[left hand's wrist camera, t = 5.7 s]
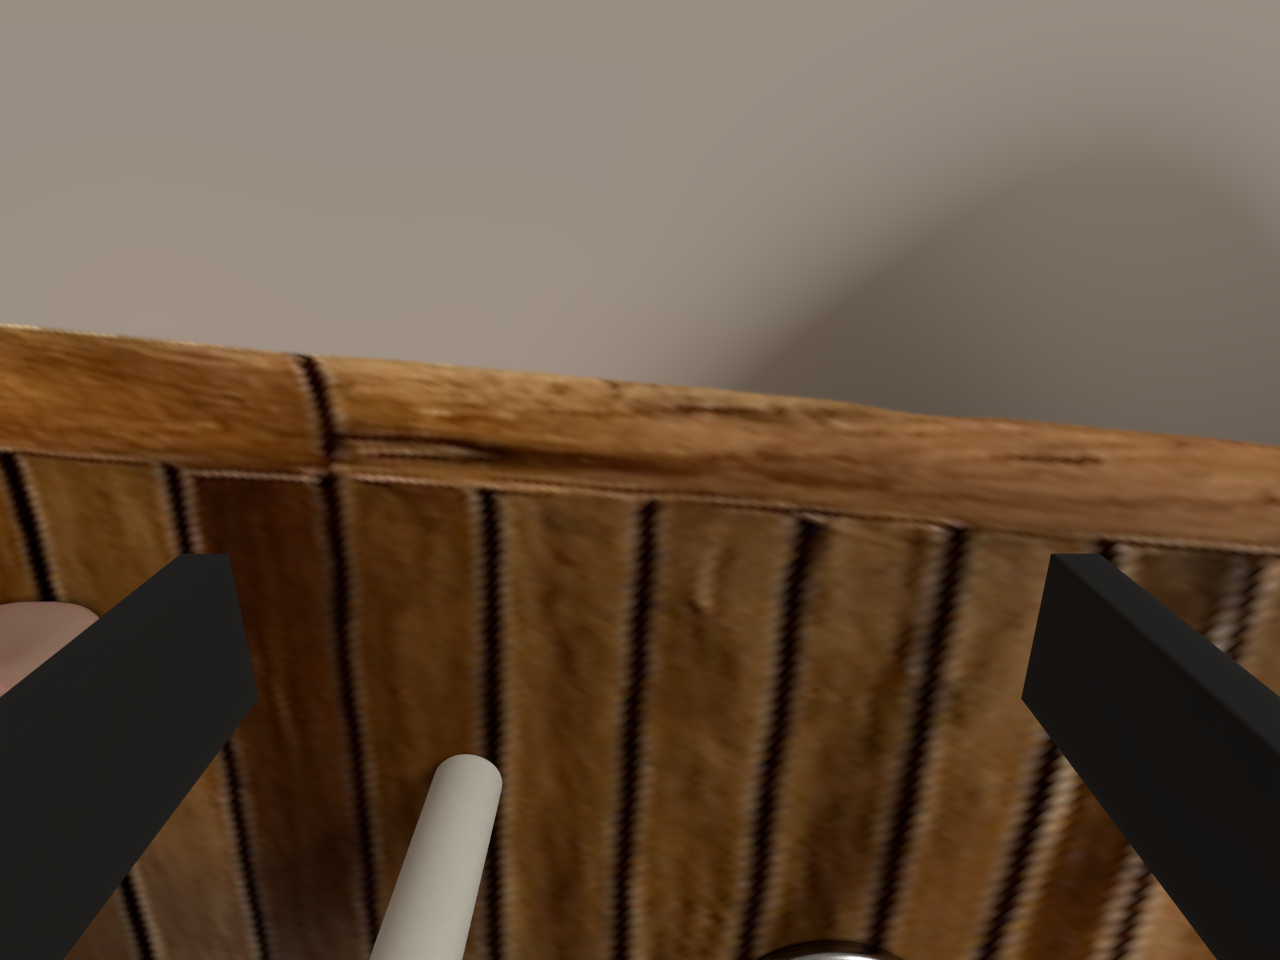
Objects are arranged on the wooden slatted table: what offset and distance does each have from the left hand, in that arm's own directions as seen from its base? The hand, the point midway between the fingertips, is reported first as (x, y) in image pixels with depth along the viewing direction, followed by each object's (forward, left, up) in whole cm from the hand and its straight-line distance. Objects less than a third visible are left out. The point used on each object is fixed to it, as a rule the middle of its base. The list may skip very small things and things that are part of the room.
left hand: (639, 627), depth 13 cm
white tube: (-28, +11, -28) cm, 41 cm away
